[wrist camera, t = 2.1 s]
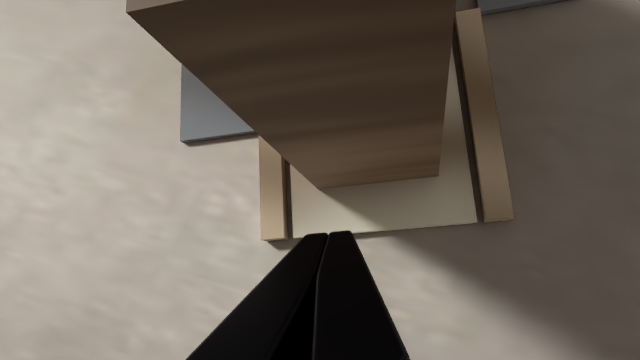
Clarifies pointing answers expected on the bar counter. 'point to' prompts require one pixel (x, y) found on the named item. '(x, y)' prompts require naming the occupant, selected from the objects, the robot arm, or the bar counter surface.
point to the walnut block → (322, 77)
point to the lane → (395, 196)
